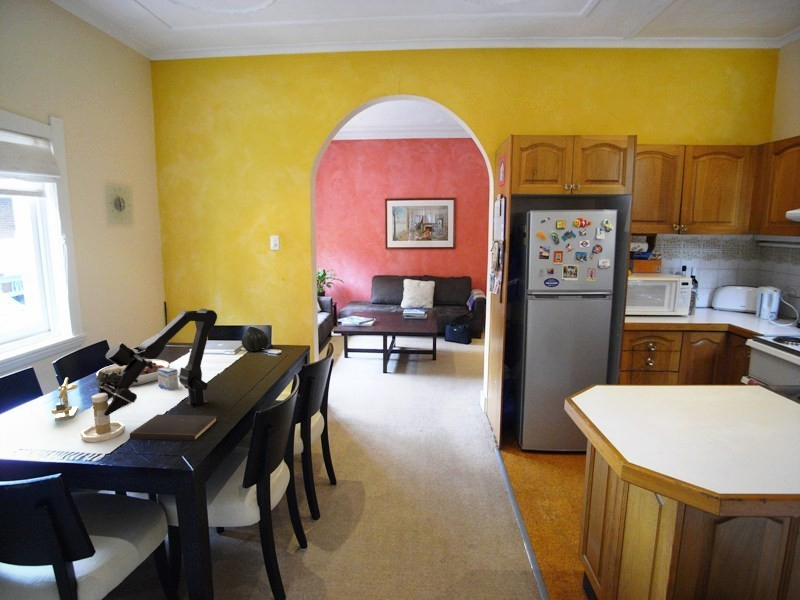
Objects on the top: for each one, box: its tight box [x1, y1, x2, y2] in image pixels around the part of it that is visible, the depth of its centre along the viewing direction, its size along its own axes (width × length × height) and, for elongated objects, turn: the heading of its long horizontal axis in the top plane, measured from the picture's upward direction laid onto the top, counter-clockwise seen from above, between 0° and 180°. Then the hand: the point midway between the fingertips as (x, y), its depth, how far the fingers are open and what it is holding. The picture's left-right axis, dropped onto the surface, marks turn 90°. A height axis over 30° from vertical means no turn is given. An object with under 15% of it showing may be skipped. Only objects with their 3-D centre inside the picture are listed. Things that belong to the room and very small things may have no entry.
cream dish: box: [80, 421, 125, 443], centre depth 151 cm, size 12×12×2 cm
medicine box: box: [157, 367, 179, 391], centre depth 196 cm, size 8×4×9 cm, turn 62°
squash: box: [241, 326, 269, 352], centre depth 258 cm, size 14×15×15 cm
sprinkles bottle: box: [91, 392, 111, 434], centre depth 150 cm, size 5×5×14 cm
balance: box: [51, 377, 79, 422], centre depth 166 cm, size 19×6×13 cm, turn 27°
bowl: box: [95, 358, 170, 387], centre depth 209 cm, size 30×30×8 cm
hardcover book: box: [129, 413, 218, 441], centre depth 155 cm, size 16×23×2 cm
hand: (99, 412), depth 149 cm, fingers open, 9 cm apart
